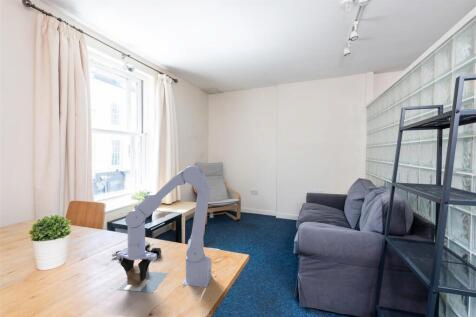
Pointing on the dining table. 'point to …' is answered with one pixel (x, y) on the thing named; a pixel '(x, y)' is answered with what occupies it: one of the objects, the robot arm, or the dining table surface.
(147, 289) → the plate
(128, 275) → the walnut block
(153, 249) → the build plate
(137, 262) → the terracotta block
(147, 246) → the robot toy
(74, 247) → the dining table surface
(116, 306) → the dining table surface
